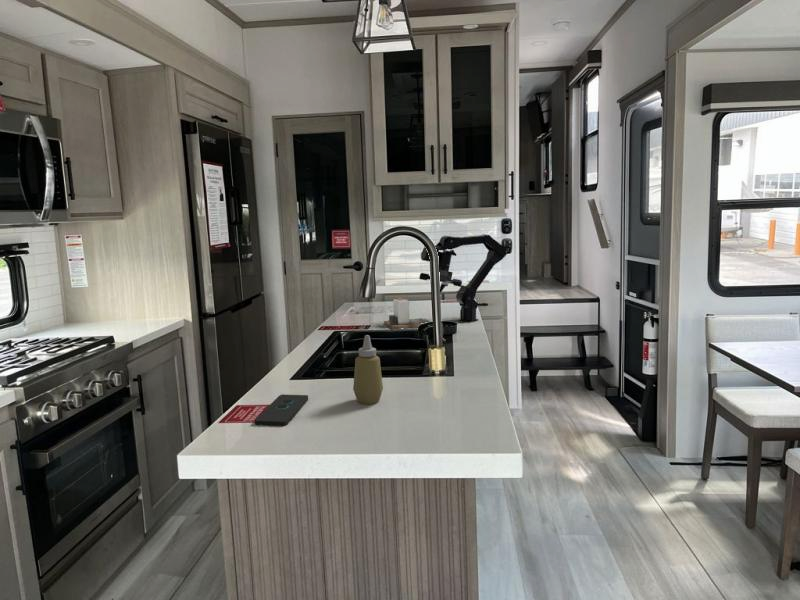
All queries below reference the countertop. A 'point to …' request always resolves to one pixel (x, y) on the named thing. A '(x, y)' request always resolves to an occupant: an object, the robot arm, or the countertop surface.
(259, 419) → the smart home device
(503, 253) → the robot arm
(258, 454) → the countertop surface
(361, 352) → the squeeze bottle
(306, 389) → the countertop surface
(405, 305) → the block
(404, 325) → the rail board
